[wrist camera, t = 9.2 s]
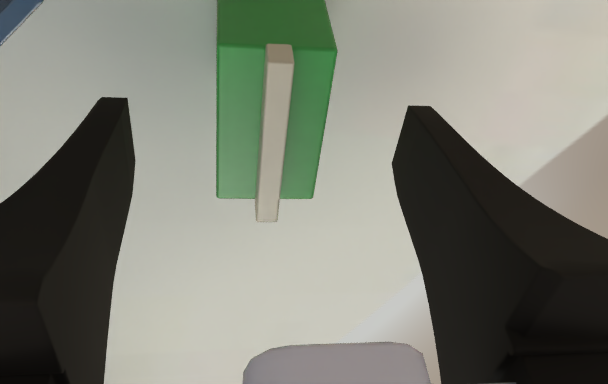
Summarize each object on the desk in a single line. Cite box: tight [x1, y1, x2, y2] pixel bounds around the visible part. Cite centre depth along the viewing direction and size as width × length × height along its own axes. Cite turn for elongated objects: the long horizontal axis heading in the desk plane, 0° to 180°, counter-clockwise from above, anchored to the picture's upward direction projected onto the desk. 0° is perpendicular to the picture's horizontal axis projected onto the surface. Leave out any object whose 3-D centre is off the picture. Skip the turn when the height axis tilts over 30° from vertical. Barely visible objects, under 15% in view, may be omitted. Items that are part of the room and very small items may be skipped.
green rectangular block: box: [216, 0, 337, 222], centre depth 17 cm, size 3×5×7 cm, turn 174°
